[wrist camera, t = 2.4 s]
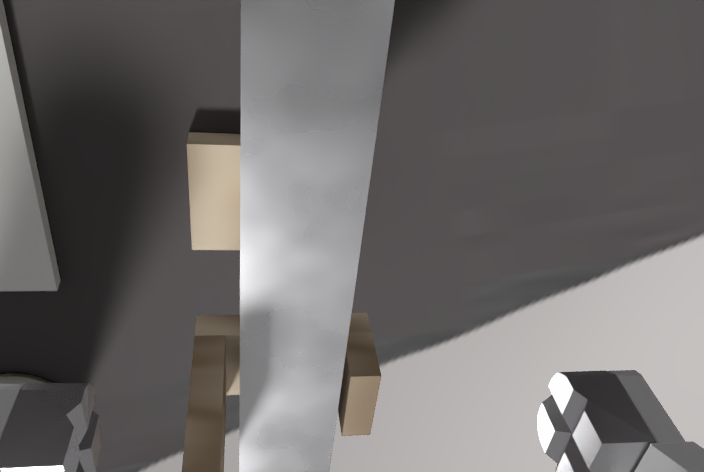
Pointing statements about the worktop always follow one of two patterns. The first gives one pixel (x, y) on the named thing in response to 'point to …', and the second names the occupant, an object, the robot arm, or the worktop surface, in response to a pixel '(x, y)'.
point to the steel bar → (302, 215)
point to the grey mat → (20, 189)
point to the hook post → (224, 330)
